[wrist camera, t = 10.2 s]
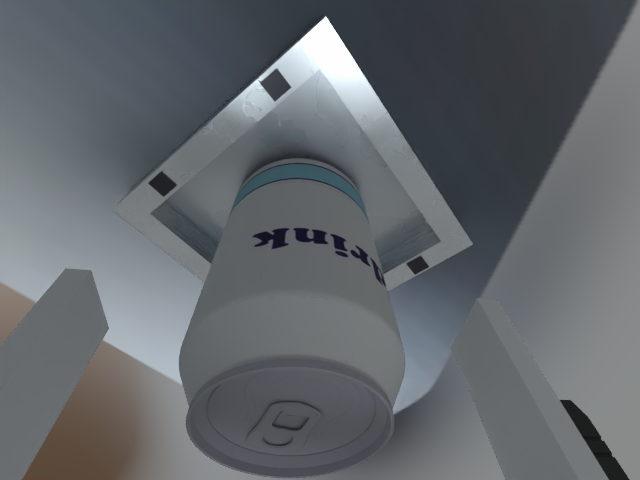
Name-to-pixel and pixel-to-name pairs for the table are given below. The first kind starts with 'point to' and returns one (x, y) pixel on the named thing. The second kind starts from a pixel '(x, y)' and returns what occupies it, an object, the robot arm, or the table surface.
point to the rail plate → (298, 142)
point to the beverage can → (293, 331)
